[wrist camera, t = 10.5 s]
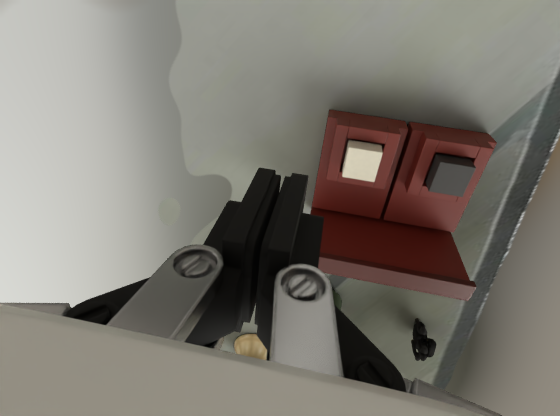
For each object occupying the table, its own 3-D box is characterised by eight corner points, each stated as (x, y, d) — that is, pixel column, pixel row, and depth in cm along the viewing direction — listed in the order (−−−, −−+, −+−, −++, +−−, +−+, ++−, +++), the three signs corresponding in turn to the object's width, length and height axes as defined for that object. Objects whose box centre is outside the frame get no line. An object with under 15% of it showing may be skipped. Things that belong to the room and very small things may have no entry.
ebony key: (436, 153, 33) (440, 161, 31) (470, 158, 33) (476, 167, 31) (424, 182, 35) (428, 191, 33) (457, 187, 34) (462, 197, 33)
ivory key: (348, 139, 34) (348, 147, 32) (381, 144, 33) (383, 152, 32) (342, 168, 35) (341, 177, 34) (373, 173, 35) (374, 182, 34)
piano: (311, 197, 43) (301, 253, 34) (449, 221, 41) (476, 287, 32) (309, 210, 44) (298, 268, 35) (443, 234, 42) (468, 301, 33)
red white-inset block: (329, 108, 36) (326, 122, 33) (405, 120, 36) (411, 136, 32) (313, 196, 43) (310, 216, 39) (378, 207, 42) (380, 229, 38)
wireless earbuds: (415, 310, 50) (421, 339, 46) (433, 311, 49) (441, 341, 45) (409, 340, 54) (414, 370, 49) (426, 342, 53) (433, 372, 49)
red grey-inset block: (409, 120, 36) (416, 136, 32) (488, 132, 35) (505, 150, 31) (381, 208, 42) (384, 230, 38) (448, 220, 41) (458, 243, 37)
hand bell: (262, 328, 58) (236, 428, 45) (288, 357, 61) (271, 458, 48) (225, 339, 62) (191, 435, 49) (252, 366, 65) (226, 463, 52)
